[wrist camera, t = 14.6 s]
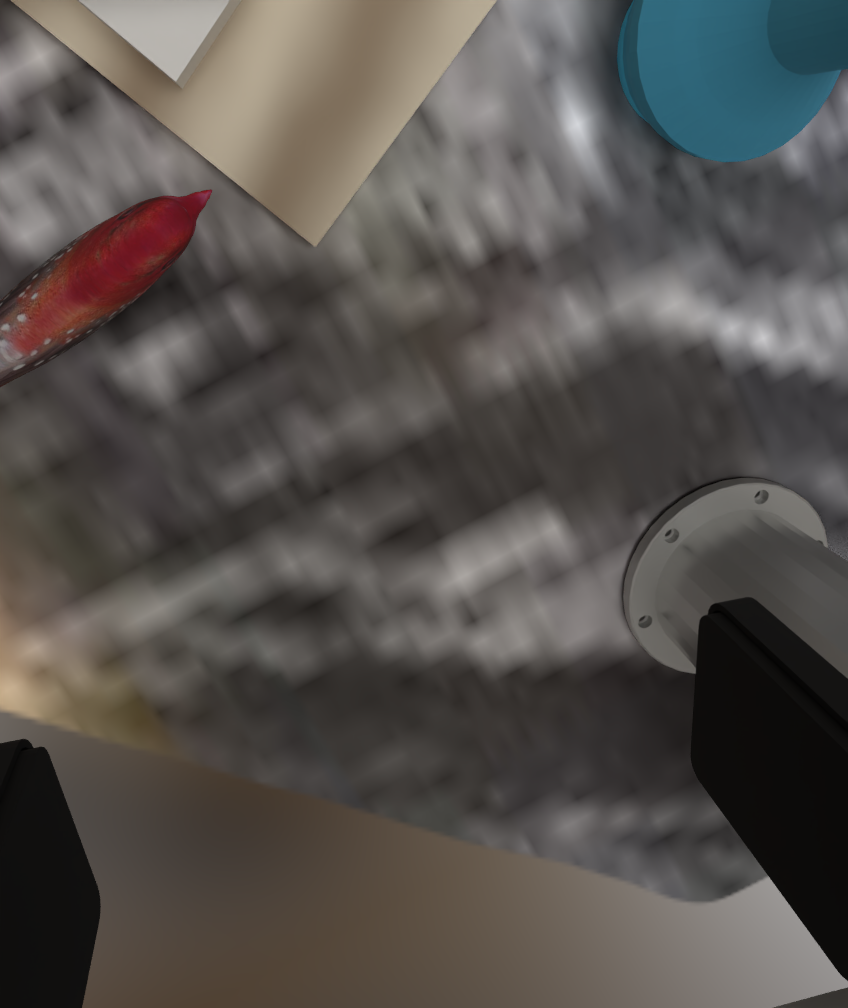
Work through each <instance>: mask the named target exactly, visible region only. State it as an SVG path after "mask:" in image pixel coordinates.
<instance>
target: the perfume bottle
mask: <svg viewBox="0 0 848 1008" xmlns="http://www.w3.org/2000/svg"><path fill="white" fill-rule="evenodd" d="M617 64H618V72H619V78H620V82H621V85H622V88H623V92H624V94H625V95H626V97H627V99H628V101H629V103H630V105H631V106H632V107H633V109H634V110H635V111H636V112H637V114H638V115H639V116H640V117H641V118H643V119H644V120H645V121H647V122H648V123H649V124H650V125H651V126H652V127H653V129H654V130H655V131H656V132H657V133H658V134H659V135H660V136H662V137H663V138H664V139H665V140H667V141H668V142H669V143H670V144H672V145H673V146H674V147H675V148H677V149H679V150H681V151H683V152H685V153H688V154H690V155H692V156H694V157H699V158H704V159H709V160H715V161H720V162H736V161H746V160H749V159H753V158H756V157H760V156H763V155H765V154H767V153H769V152H771V151H773V150H775V149H777V148H779V147H781V146H783V145H784V144H785V143H786V142H788V141H789V140H790V139H792V138H793V137H794V136H795V135H797V134H798V133H799V132H800V131H801V130H802V129H803V128H804V127H805V126H806V125H807V124H808V123H809V122H810V121H811V119H812V118H813V117H814V116H815V115H816V114H817V113H818V111H819V110H820V108H821V107H822V105H823V104H824V102H825V101H826V99H827V98H828V96H829V95H830V93H831V91H832V89H833V87H834V85H835V82H836V80H837V78H838V76H839V74H840V72H841V70H843V69H848V0H633V2H632V3H631V5H630V7H629V9H628V10H627V13H626V16H625V18H624V21H623V23H622V26H621V31H620V36H619V40H618V51H617Z"/></svg>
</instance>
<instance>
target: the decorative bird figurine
mask: <svg viewBox="0 0 848 1008" xmlns="http://www.w3.org/2000/svg"><path fill="white" fill-rule="evenodd" d="M211 193H212V190H204V191H201V192H195V193H192V194H190V195H187V196H183V197H175V196H161V197H156V198H152V199H148V200H145V201H142V202H140V203H138V204H136V205H134V206H132V207H130V208H128V209H126V210H125V211H123V212H121V213H119V214H118V215H116V216H114V217H112V218H110V219H108V220H106V221H104V222H102V223H101V224H99V225H97V226H95V227H94V228H92V229H91V230H89V231H87V232H86V233H84V234H83V235H81V236H80V237H78V238H77V239H75V240H74V241H73V242H71V243H70V244H68V245H67V246H66V247H64V248H63V249H62V250H60V251H59V252H57V253H56V254H55V255H53V256H52V257H51V258H50V259H48V260H47V261H46V262H45V263H43V264H42V265H41V266H40V267H38V268H37V269H36V270H35V271H33V272H32V273H31V274H30V275H29V276H27V277H26V278H25V279H24V280H23V281H21V282H20V283H19V284H18V285H17V286H16V287H15V288H14V289H13V290H11V291H10V292H9V293H8V294H7V295H6V296H5V297H4V298H3V299H2V300H1V301H0V387H1V386H3V385H5V384H7V383H9V382H10V381H12V380H14V379H16V378H18V377H20V376H22V375H24V374H26V373H28V372H30V371H32V370H34V369H36V368H38V367H39V366H41V365H43V364H45V363H47V362H49V361H50V360H52V359H54V358H55V357H57V356H59V355H60V354H62V353H64V352H65V351H67V350H68V349H70V348H71V347H73V346H75V345H76V344H78V343H79V342H81V341H82V340H84V339H85V338H87V337H88V336H89V335H91V334H92V333H94V332H95V331H96V330H98V329H99V328H100V327H102V326H103V325H105V324H106V323H107V322H109V321H110V320H111V319H113V318H114V317H115V316H116V315H118V314H119V313H120V312H122V311H123V310H124V309H125V308H127V307H128V306H129V305H130V304H131V303H133V302H134V301H135V300H136V299H137V298H139V297H140V296H141V295H142V294H143V293H144V292H145V291H146V290H147V289H148V288H149V287H151V286H152V285H153V284H154V283H155V282H156V281H157V280H158V278H159V277H160V276H161V275H162V274H163V273H164V272H165V271H166V270H167V269H168V268H169V267H170V266H171V265H172V264H173V263H174V262H175V261H176V260H177V259H178V258H179V256H180V255H181V254H182V253H183V251H184V250H185V249H186V247H187V245H188V244H189V242H190V240H191V238H192V236H193V234H194V231H195V226H196V220H197V217H198V215H199V213H200V212H201V211H202V209H203V208H204V207H205V205H206V202H207V200H208V199H209V198H210V195H211Z"/></svg>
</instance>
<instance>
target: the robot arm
mask: <svg viewBox="0 0 848 1008" xmlns="http://www.w3.org/2000/svg"><path fill="white" fill-rule="evenodd" d="M623 602H624V611H625V616H626V619H627V622H628V625H629V628H630V630H631V632H632V633H633V635H634V636H635V638H636V639H637V641H638V642H639V644H640V645H641V646H642V647H643V648H644V649H645V650H646V652H647V653H648V654H649V655H650V656H651V657H652V658H654V659H655V660H657V661H658V662H659V663H661V664H662V665H664V666H667V667H669V668H672V669H674V670H677V671H680V672H686V673H692V674H696V676H695V692H694V707H693V723H692V739H691V762H692V766H693V769H694V772H695V774H696V776H697V778H698V780H699V781H700V783H701V784H702V785H703V787H704V788H705V790H706V791H707V792H708V794H709V795H710V796H711V798H712V799H713V800H714V802H715V803H716V805H717V806H718V807H719V809H720V810H721V811H722V813H723V814H724V816H725V817H726V818H727V820H728V821H729V822H730V824H731V825H732V827H733V828H734V829H735V831H736V832H737V833H738V835H739V836H740V838H741V839H742V840H743V842H744V843H745V844H746V846H747V847H748V849H749V850H750V851H751V853H752V854H753V855H754V857H755V858H756V860H757V861H758V862H759V864H760V865H761V866H762V868H763V869H764V870H765V872H766V873H767V875H768V876H769V877H770V879H771V880H772V881H773V883H774V884H775V886H776V887H777V888H778V890H779V891H780V892H781V894H782V895H783V896H784V898H785V899H786V901H787V902H788V903H789V905H790V906H791V908H792V909H793V910H794V912H795V913H796V914H797V916H798V917H799V919H800V920H801V921H802V923H803V924H804V925H805V927H806V928H807V930H808V931H809V932H810V934H811V935H812V936H813V938H814V939H815V940H816V942H817V943H818V945H819V946H820V947H821V949H822V950H823V951H824V953H825V954H826V956H827V957H828V958H829V960H830V961H831V962H832V964H833V965H834V967H835V968H836V969H837V971H838V972H839V973H840V974H841V975H842V976H843V977H844V978H845V979H846V980H847V981H848V561H846V560H845V559H843V558H842V557H840V556H839V555H837V554H836V553H834V552H833V551H831V550H830V549H828V542H827V537H826V532H825V528H824V526H823V524H822V521H821V519H820V517H819V515H818V513H817V512H816V511H815V510H814V509H813V507H812V506H811V505H810V504H809V502H808V501H806V500H805V499H803V498H802V497H801V496H799V495H798V494H797V493H795V492H794V491H792V490H790V489H788V488H786V487H784V486H782V485H781V484H779V483H776V482H772V481H768V480H764V479H758V478H738V479H731V480H724V481H720V482H717V483H715V484H712V485H709V486H706V487H703V488H701V489H699V490H697V491H695V492H693V493H692V494H690V495H688V496H686V497H684V498H683V499H681V500H680V501H679V502H677V503H676V504H675V505H673V506H672V507H671V508H669V509H668V510H667V511H666V512H665V513H664V514H663V515H662V516H661V517H660V518H659V519H658V520H657V521H656V522H655V523H654V524H653V525H652V526H651V527H650V529H649V530H648V532H647V533H646V534H645V536H644V537H643V539H642V540H641V541H640V543H639V545H638V547H637V549H636V551H635V553H634V555H633V557H632V559H631V561H630V564H629V567H628V571H627V574H626V578H625V583H624V593H623ZM100 907H101V906H100V895H99V890H98V886H97V884H96V881H95V878H94V875H93V873H92V870H91V867H90V865H89V862H88V859H87V857H86V854H85V851H84V848H83V846H82V843H81V840H80V837H79V835H78V832H77V829H76V827H75V824H74V821H73V818H72V816H71V813H70V810H69V808H68V805H67V802H66V799H65V797H64V794H63V791H62V789H61V786H60V783H59V781H58V778H57V775H56V772H55V769H54V767H53V764H52V761H51V759H50V756H49V754H48V752H47V750H46V749H45V748H44V747H38V748H33V746H32V744H31V743H30V742H29V741H28V740H26V739H21V740H15V741H10V742H5V743H0V1008H82V1005H83V1000H84V995H85V990H86V985H87V980H88V974H89V970H90V965H91V960H92V954H93V950H94V944H95V940H96V934H97V930H98V924H99V919H100ZM774 1008H848V988H845V989H840V990H837V991H833V992H829V993H825V994H822V995H818V996H814V997H810V998H807V999H803V1000H800V1001H796V1002H792V1003H789V1004H785V1005H781V1006H778V1007H774Z"/></svg>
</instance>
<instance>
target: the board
mask: <svg viewBox="0 0 848 1008" xmlns="http://www.w3.org/2000/svg"><path fill="white" fill-rule="evenodd" d="M11 1H12V2H13V3H14V4H16V5H17V6H18V7H19V8H21V9H22V10H23V11H24V12H26V13H27V14H28V15H29V16H31V17H32V18H33V19H34V20H35V21H37V22H38V23H39V24H40V25H42V26H43V27H44V28H45V29H47V30H48V31H49V32H50V33H51V34H53V35H54V36H55V37H56V38H58V39H59V40H60V41H61V42H63V43H64V44H65V45H66V46H68V47H69V48H70V49H71V50H72V51H74V52H75V53H76V54H77V55H79V56H80V57H81V58H82V59H84V60H85V61H86V62H87V63H89V64H90V65H91V66H92V67H93V68H95V69H96V70H97V71H98V72H100V73H101V74H102V75H103V76H105V77H106V78H107V79H108V80H109V81H111V82H112V83H113V84H114V85H116V86H117V87H118V88H119V89H121V90H122V91H123V92H124V93H126V94H127V95H128V96H129V97H130V98H132V99H133V100H134V101H135V102H137V103H138V104H139V105H140V106H142V107H143V108H144V109H145V110H146V111H148V112H149V113H150V114H151V115H153V116H154V117H155V118H156V119H158V120H159V121H160V122H161V123H163V124H164V125H165V126H166V127H167V128H169V129H170V130H171V131H172V132H174V133H175V134H176V135H177V136H179V137H180V138H181V139H182V140H184V141H185V142H186V143H187V144H188V145H190V146H191V147H192V148H193V149H195V150H196V151H197V152H198V153H200V154H201V155H202V156H203V157H204V158H206V159H207V160H208V161H209V162H211V163H212V164H213V165H214V166H216V167H217V168H218V169H219V170H221V171H222V172H223V173H224V174H225V175H227V176H228V177H229V178H230V179H232V180H233V181H234V182H235V183H237V184H238V185H239V186H240V187H242V188H243V189H244V190H245V191H246V192H248V193H249V194H250V195H251V196H253V197H254V198H255V199H256V200H258V201H259V202H260V203H261V204H262V205H264V206H265V207H266V208H267V209H269V210H270V211H271V212H272V213H274V214H275V215H276V216H277V217H279V218H280V219H281V220H282V221H283V222H285V223H286V224H287V225H288V226H290V227H291V228H292V229H293V230H295V231H296V232H297V233H298V234H299V235H301V236H302V237H303V238H304V239H306V240H307V241H308V242H309V243H311V244H312V245H313V246H314V247H316V246H317V244H318V243H319V242H320V240H321V239H322V238H323V236H324V235H325V234H326V232H327V231H328V230H329V228H330V227H331V225H332V224H333V223H334V221H335V220H336V219H337V217H338V216H339V215H340V213H341V212H342V210H343V209H344V208H345V206H346V205H347V204H348V202H349V201H350V200H351V198H352V197H353V195H354V194H355V193H356V191H357V190H358V189H359V187H360V186H361V185H362V183H363V182H364V181H365V179H366V178H367V176H368V175H369V174H370V172H371V171H372V170H373V168H374V167H375V166H376V164H377V163H378V161H379V160H380V159H381V157H382V156H383V155H384V153H385V152H386V151H387V149H388V148H389V146H390V145H391V144H392V142H393V141H394V140H395V138H396V137H397V136H398V134H399V133H400V132H401V130H402V129H403V127H404V126H405V125H406V123H407V122H408V121H409V119H410V118H411V117H412V115H413V114H414V112H415V111H416V110H417V108H418V107H419V106H420V104H421V103H422V102H423V100H424V99H425V97H426V96H427V95H428V93H429V92H430V91H431V89H432V88H433V87H434V85H435V84H436V83H437V81H438V80H439V78H440V77H441V76H442V74H443V73H444V72H445V70H446V69H447V68H448V66H449V65H450V63H451V62H452V61H453V59H454V58H455V57H456V55H457V54H458V53H459V51H460V50H461V49H462V47H463V46H464V44H465V43H466V42H467V40H468V39H469V38H470V36H471V35H472V34H473V32H474V31H475V29H476V28H477V27H478V25H479V24H480V23H481V21H482V20H483V19H484V17H485V16H486V14H487V13H488V12H489V10H490V9H491V8H492V6H493V5H494V4H495V2H496V1H497V0H241V2H240V3H239V5H238V6H237V8H236V9H235V11H234V12H233V14H232V15H231V17H230V18H229V20H228V21H227V23H226V24H225V26H224V27H223V29H222V30H221V32H220V33H219V35H218V36H217V38H216V39H215V41H214V42H213V44H212V45H211V47H210V48H209V50H208V51H207V53H206V54H205V56H204V57H203V59H202V60H201V62H200V63H199V65H198V66H197V68H196V69H195V71H194V72H193V74H192V75H191V77H190V78H189V80H188V81H187V83H186V84H185V86H184V87H183V89H182V88H180V87H179V86H178V85H177V84H176V83H174V82H173V81H172V80H171V79H170V78H169V77H167V76H166V75H165V74H164V73H163V72H161V71H160V70H159V69H158V68H157V67H155V66H154V65H153V64H152V63H151V62H149V61H148V60H147V59H146V58H145V57H144V56H142V55H141V54H140V53H139V52H138V51H136V50H135V49H134V48H133V47H132V46H130V45H129V44H128V43H127V42H126V41H124V40H123V39H122V38H121V37H120V36H118V35H117V34H116V33H115V32H114V31H113V30H111V29H110V28H109V27H108V26H107V25H105V24H104V23H103V22H102V21H101V20H99V19H98V18H97V17H96V16H95V15H93V14H92V13H91V12H90V11H89V10H88V9H86V8H85V7H84V6H83V5H82V4H80V3H79V2H78V1H77V0H11Z"/></svg>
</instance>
